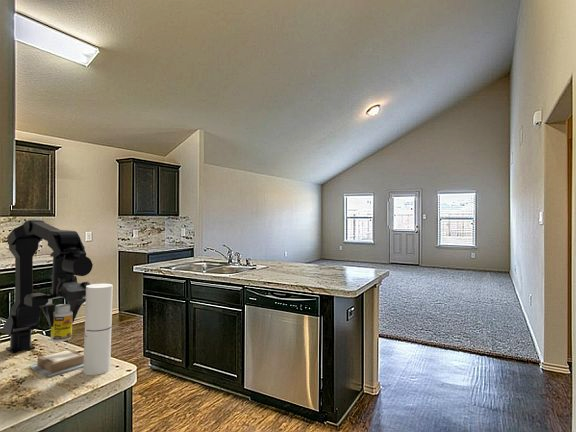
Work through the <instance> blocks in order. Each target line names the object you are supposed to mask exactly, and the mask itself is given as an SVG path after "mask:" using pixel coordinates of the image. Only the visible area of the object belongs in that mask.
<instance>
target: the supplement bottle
mask: <svg viewBox="0 0 576 432" xmlns="http://www.w3.org/2000/svg"><path fill="white" fill-rule="evenodd" d="M72 321H73V312H72V311H70V303H68V304H67V303H62V304H60V303H59V304H55V307H54V311H53V327H50V341H52V342H58V343H59V342H64V341H65V342H66V341H69V340H70V339H72V336H73V323H72Z"/></svg>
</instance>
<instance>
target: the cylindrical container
mask: <svg viewBox="0 0 576 432" xmlns="http://www.w3.org/2000/svg"><path fill="white" fill-rule="evenodd" d="M113 287H114V285H113V284H111V283H92V284H91V283H90V285H87V286H86V301H85V302H84V303H85V306H84V308H85V309H84V311H85V313H84V336H83V338H84V339H83V343H84V345H83V355H84V365H83V369H82V371H83V374H84V375H87V376H97V375H101V374H102V373H103V374H106V373H107V372H109V371H110V370H111V358H112V357H111V354H112V325H113V324H112V323H113V322H112V321H113V297H114V296H113V293H114V290H113V289H114V288H113ZM103 374H102V375H103Z"/></svg>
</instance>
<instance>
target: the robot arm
mask: <svg viewBox="0 0 576 432" xmlns="http://www.w3.org/2000/svg"><path fill="white" fill-rule="evenodd" d="M42 240H45V242H47V246H48V247H49V248H50V249H51V250H52V252H51V253H50V254H49V255H50V257H51V258H52V275H49V276H50V278H49V279H50V280H51V281H52V283H51V288H50V289H49V294H45V293H43V292H35V293H34V283H33V282H34V278H33V277H34V273H33V272H34V271H33V269H34V266H33V265H34V263H33V261H34V259H33V258H34V255H35V254H36V253H37V251H38V250H39V243H40V242H41V241H42ZM7 244H8V250H9V252H10V253H11V254H12V256H13V257H14V263H15V264H14V265H15V270H14V271H15V274H14V275H15V300H14V301H15V302H14V303H13V304H12V305H11V308H9V313H8V314H9V315H8V318H7V319H6V320H5V322H4V324H3V326H2V329H3V333H4V334H6V335H8V336H9V335H10V338H9V339H10V340H9V341H10V342H9V344H10V345H9V347H5V350H6V351H8V352H9V353H11V354H17V353H20V352H21V353H22V352H26V351H30V350H33V349H36V346H34V345H33V344H32V331H33V330H38V329H39V326H40V321H41V318H42V317H41V313H40V312H41V311H42V312H43V314H44V317H45V319H46V321H47V324H48V326H49V327H50V328H51V327H53V312H54V310H55V306H56V304H53V301H58V300H65V301H66V302H69V305H70V311H72V312H73V321H72V324H73V323H74V321H75V320H76V317H77V315H78V313H79V310H80V308H81V306H82V305H83V304H84V303H86V286H87V285H91V283H90V282H89V281H83V282H79V283H78V277H86V276H87V275H89V274H90V273H91V271H92V270H93V261H92V260H91V258H90V257H88V256H87V252H86V250H85V249H86V247H85V246H84V244H83V242H82V239H81V236H80V235H79V233H78V232H77V231H76V230H68V229H67V230H65V229H60V228H58V227H55V226H52V225H51V224H49V223H47V222H45V221H44V220H41V219H28V220H25V221H24V223H23V224H21V225H19V226H17V227H15V228H13V229H12V230H11V231H10V232H9V234H8V235H7ZM77 276H78V277H77ZM40 310H41V311H40Z"/></svg>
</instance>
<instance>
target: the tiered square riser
mask: <svg viewBox="0 0 576 432" xmlns="http://www.w3.org/2000/svg"><path fill="white" fill-rule="evenodd" d="M83 365H84V354H81V353H80V352H77V351H75V350H72V349H69V348H68V349H64V350H60V351H55V352H52V353H48V354H44V355H41V356H38V357H37V363H35V364H32V365H29V369H30V370H33V371H35V372H37V373H38V374H41V375H42V376H44V377H46V378H48V379H50V378H53V377H56V376H60V375H63V374H66V373H70V372H73V371H76V370H79V369H82V368H83Z"/></svg>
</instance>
